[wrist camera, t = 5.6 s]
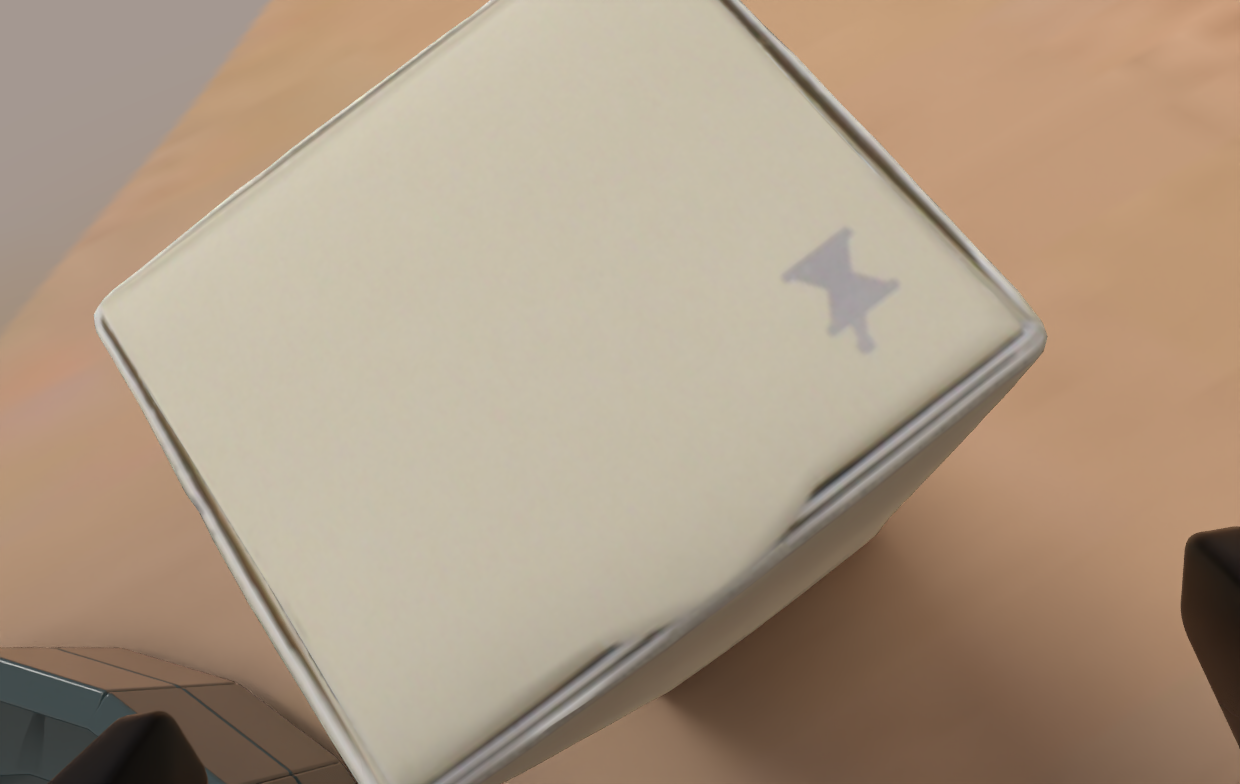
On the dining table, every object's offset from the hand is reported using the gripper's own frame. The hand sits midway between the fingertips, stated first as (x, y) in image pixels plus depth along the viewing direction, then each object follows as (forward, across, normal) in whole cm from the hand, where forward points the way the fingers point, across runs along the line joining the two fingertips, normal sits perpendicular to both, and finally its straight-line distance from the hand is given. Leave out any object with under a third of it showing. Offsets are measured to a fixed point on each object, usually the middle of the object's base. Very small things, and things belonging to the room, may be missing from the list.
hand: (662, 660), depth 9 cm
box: (+8, 0, +5) cm, 10 cm away
